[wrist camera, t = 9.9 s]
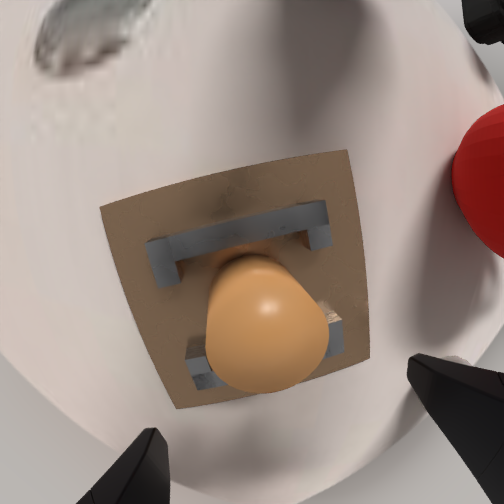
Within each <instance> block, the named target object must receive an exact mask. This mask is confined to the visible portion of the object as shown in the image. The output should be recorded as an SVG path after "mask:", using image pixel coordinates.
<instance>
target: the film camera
mask: <svg viewBox="0 0 504 504" xmlns="http://www.w3.org/2000/svg"><path fill="white" fill-rule="evenodd" d="M462 9H463V19H464V26H465V28H466V30H467V32H468V34H469V35H470V36H471V37H472V38H473V39H474V40H475V41H476V42H477V43H479V44H484V43H485V44H487V45H491V44H494V43H496V42H499V41H501V42H502V43H503V44H504V0H462Z"/></svg>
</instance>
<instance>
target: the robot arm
mask: <svg viewBox="0 0 504 504" xmlns="http://www.w3.org/2000/svg"><path fill="white" fill-rule="evenodd" d="M407 378H408V381H409V382H410V384H411V386H412V387H413V389H414V391H415V392H416V394H417V396H418V397H419V399H420V401H421V403H422V404H423V406H424V408H425V409H426V411H427V412H428V413H429V415H430V416H431V417H432V418H433V420H434V421H435V423H436V424H437V425H438V427H439V428H440V429H441V431H442V432H443V433H444V434H445V436H446V437H447V439H448V440H449V442H450V443H451V444H452V446H453V447H454V448H455V450H456V451H457V453H458V454H459V455H460V456H461V458H462V459H463V461H464V462H465V464H466V465H467V467H468V468H469V469H470V471H471V472H472V474H473V475H474V477H475V478H476V480H477V482H478V483H479V484H480V486H481V487H482V489H483V490H484V492H485V493H486V495H487V496H488V498H489V499H490V501H491V503H492V504H504V373H501V372H496V371H492V370H487V369H482V368H478V367H473V366H469V365H465V364H460V363H456V362H452V361H448V360H444V359H440V358H436V357H432V356H428V355H424V354H420V353H418V354H415V355H413V356H411V357H410V358H409V360H408V368H407ZM76 504H170V471H169V458H168V445H167V442H166V440H165V439H164V438H163V436H162V435H161V433H160V432H159V430H158V429H157V428H145V429H144V430H143V431H142V432H141V433H140V435H139V436H138V437H137V438H136V439H135V440H134V441H133V442H132V444H131V445H130V446H129V447H128V448H127V449H126V450H125V452H124V453H123V454H122V455H121V456H120V457H119V458H118V460H116V462H115V463H114V464H113V465H112V466H111V467H110V468H109V469H108V471H107V472H106V473H105V474H104V475H103V476H102V477H101V478H100V479H99V480H98V481H97V482H96V483H95V485H94V486H93V487H92V488H91V490H89V491H88V492H87V493H86V494H85V495H84V496H83V497H82V498H81V499H80V500H79V501H78V502H77V503H76Z"/></svg>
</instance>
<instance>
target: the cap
mask: <svg viewBox="0 0 504 504" xmlns="http://www.w3.org/2000/svg"><path fill="white" fill-rule="evenodd" d="M328 342H329V327H328V322H327V320H326V317H325V315H324V313H323V311H322V310H321V308H320V307H319V306H318V305H317V303H316V302H315V301H314V300H313V299H312V298H311V296H310V295H309V294H308V293H307V292H306V291H305V290H304V288H303V287H302V286H301V285H300V284H299V283H298V282H297V280H296V279H295V278H294V277H293V276H292V275H291V274H290V272H289V271H288V270H287V269H286V268H285V267H284V266H283V265H282V264H280V263H279V262H278V261H276V260H274V259H272V258H269V257H266V256H262V255H247V256H242V257H239V258H236V259H234V260H232V261H230V262H229V263H227V264H226V265H224V266H223V267H222V268H221V269H220V270H219V271H218V272H217V274H216V275H215V277H214V279H213V280H212V283H211V286H210V289H209V298H208V312H207V327H206V345H205V348H206V355H207V359H208V362H209V364H210V366H211V368H212V369H213V371H214V372H215V374H216V375H217V376H218V377H219V378H220V379H221V380H222V381H224V382H225V383H227V384H228V385H230V386H232V387H234V388H236V389H239V390H242V391H245V392H250V393H272V392H277V391H281V390H284V389H287V388H290V387H292V386H294V385H296V384H298V383H299V382H301V381H302V380H304V379H305V378H307V377H308V376H309V375H310V374H311V373H312V372H313V371H314V370H315V369H316V368H317V366H318V365H319V364H320V362H321V360H322V359H323V357H324V355H325V352H326V350H327V346H328Z"/></svg>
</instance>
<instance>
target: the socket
mask: <svg viewBox="0 0 504 504" xmlns="http://www.w3.org/2000/svg"><path fill="white" fill-rule="evenodd" d="M100 211H101V215H102V219H103V223H104V227H105V231H106V234H107V238H108V241H109V245H110V248H111V252H112V255H113V258H114V262H115V265H116V268H117V271H118V274H119V277H120V280H121V283H122V286H123V289H124V292H125V295H126V298H127V300H128V303H129V306H130V308H131V311H132V314H133V316H134V319H135V321H136V324H137V326H138V329H139V331H140V334H141V336H142V338H143V341H144V343H145V345H146V348H147V350H148V352H149V355H150V357H151V359H152V361H153V363H154V365H155V368H156V370H157V372H158V374H159V376H160V378H161V380H162V382H163V384H164V386H165V388H166V390H167V392H168V394H169V396H170V398H171V400H172V402H173V404H174V405H175V407H176V409H180V408H187V407H194V406H200V405H206V404H212V403H218V402H223V401H228V400H233V399H238V398H243V397H247V396H251V395H256V394H260V393H250V392H245V391H242V390H239V389H236V388H234V387H232V386H230V385H228V384H227V383H225V382H224V381H222V380H221V379H220V378H219V377H218V376H217V375H216V374H215V372H214V371H213V369H212V368H211V366H210V364H209V362H208V359H207V355H206V348H205V345H206V327H207V312H208V298H209V289H210V286H211V283H212V280H213V279H214V277H215V275H216V274H217V272H218V271H219V270H220V269H221V268H222V267H223V266H224V265H226V264H227V263H229V262H230V261H232V260H234V259H236V258H239V257H242V256H247V255H262V256H266V257H269V258H272V259H274V260H276V261H278V262H279V263H280V264H282V265H283V266H284V267H285V268H286V269H287V270H288V271H289V272H290V274H291V275H292V276H293V277H294V278H295V279H296V280H297V282H298V283H299V284H300V285H301V286H302V287H303V288H304V290H305V291H306V292H307V293H308V294H309V295H310V296H311V298H312V299H313V300H314V301H315V302H316V303H317V305H318V306H319V307H320V308H321V310H322V311H323V313H324V315H325V317H326V320H327V322H328V327H329V342H328V346H327V350H326V352H325V355H324V357H323V359H322V360H321V362H320V364H319V365H318V366H317V368H316V369H315V370H314V371H313V372H312V373H311V374H310V375H309V376H308V377H307V378H305V379H304V380H302V381H301V382H304V381H307V380H310V379H314V378H317V377H320V376H323V375H326V374H329V373H332V372H335V371H338V370H340V369H343V368H346V367H349V366H351V365H354V364H357V363H359V362H362V361H364V360H367V359H369V358H370V335H369V309H368V292H367V279H366V268H365V258H364V249H363V240H362V232H361V225H360V218H359V211H358V205H357V199H356V193H355V187H354V182H353V176H352V171H351V166H350V161H349V156H348V152H347V150H339V151H332V152H325V153H318V154H312V155H305V156H299V157H293V158H288V159H282V160H277V161H271V162H266V163H261V164H256V165H251V166H246V167H242V168H237V169H232V170H228V171H224V172H219V173H215V174H211V175H207V176H203V177H199V178H195V179H191V180H187V181H183V182H180V183H176V184H172V185H169V186H165V187H161V188H158V189H155V190H151V191H148V192H144V193H141V194H138V195H135V196H131V197H128V198H125V199H122V200H119V201H116V202H113V203H110V204H107V205H104V206H101V207H100ZM301 382H299V383H301Z"/></svg>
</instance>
